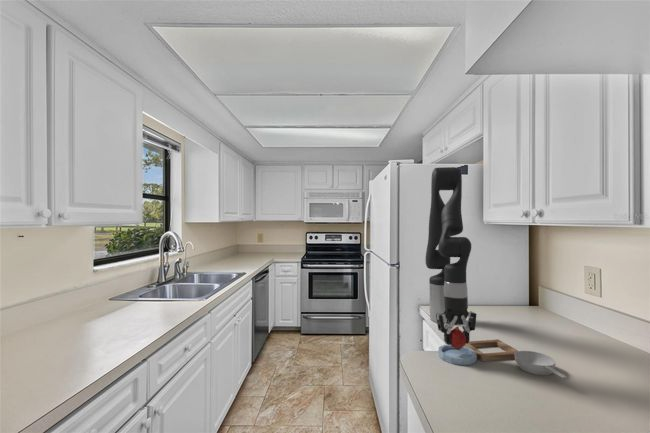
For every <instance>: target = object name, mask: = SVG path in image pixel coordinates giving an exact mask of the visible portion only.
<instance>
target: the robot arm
mask: <svg viewBox="0 0 650 433" xmlns="http://www.w3.org/2000/svg"><path fill="white" fill-rule="evenodd" d="M430 184H431V185H430V186H431V190H430V191H431V192H430V194H431V196H430V197H431V198H430V199H431V200H430V210H429V217H428V218H429V220H428V239H427V245H426V246H427V247H426V252H425V265H426V267H427V269H429V270H441V271H440V272H438V273H437V274H435V275H431V276H430V277H429V279H428V280H429V282H428V283H429V319H430V321H432V322H433V323H437V330H438V331H440V332H441V333H443V342H444V343H445V345H451V335H450V331H451V330H453V329H454V326H455V325H460V326H461V329H462V330H463V331H462V332H463V333H464V335H465V337H466V343H468V342H469V341H470V340H471V339H470V338H471V337H470V333H471V332H472V331H475V330H476V325H477V324H476V323H477V313H475V312H473V311H472V310H471V311H468V309H469V304H468V303H469V302H468V300H469V299H468V298H469V297H468V295H469V294H468V284H467V267H468V262H469V257H470V255H471V251H472V242H471V240H470V239H469V238H468V237H466V236H458V235H460V234H462V233H463V231H464V224H463V217H462V216H463V215H462V198H463V196H462V195H463V194H462V193H463V192H462V190H463V189H462V188H463V187H462V186H463V178H462V171H461V169H460V168H459V167H455V166H453V167H452V166H451V167H450V166H448V167H447V166H446V167H445V166H444V167H441V166H440V167H434V169H433V170H432V172H431V183H430ZM440 191H452V194H451V196H450V198H449V199H448V201H447V202H444V201H443V199H442V197H441V194H440ZM437 248H438V249H437ZM451 258H458V260H457V261H456V262H452V263H451ZM467 319H468V320H467Z"/></svg>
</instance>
